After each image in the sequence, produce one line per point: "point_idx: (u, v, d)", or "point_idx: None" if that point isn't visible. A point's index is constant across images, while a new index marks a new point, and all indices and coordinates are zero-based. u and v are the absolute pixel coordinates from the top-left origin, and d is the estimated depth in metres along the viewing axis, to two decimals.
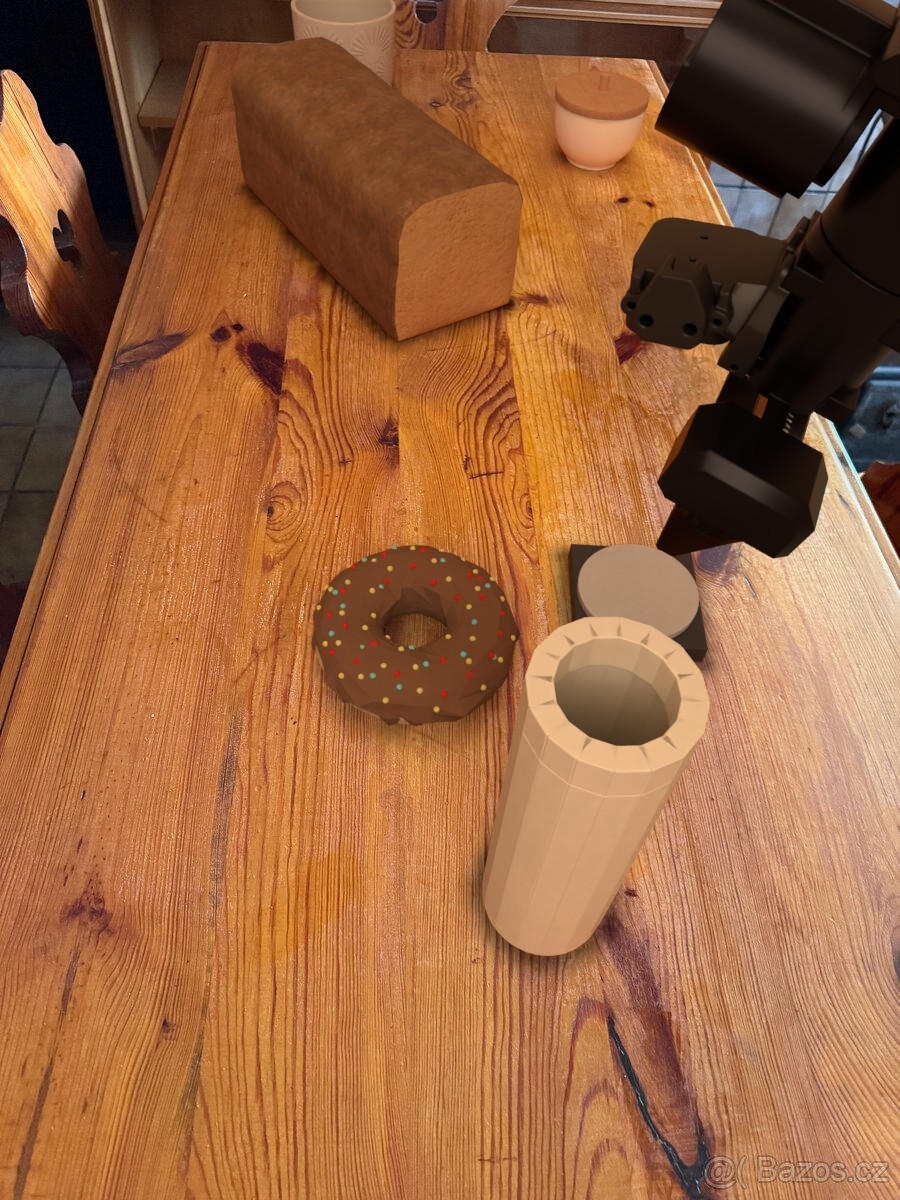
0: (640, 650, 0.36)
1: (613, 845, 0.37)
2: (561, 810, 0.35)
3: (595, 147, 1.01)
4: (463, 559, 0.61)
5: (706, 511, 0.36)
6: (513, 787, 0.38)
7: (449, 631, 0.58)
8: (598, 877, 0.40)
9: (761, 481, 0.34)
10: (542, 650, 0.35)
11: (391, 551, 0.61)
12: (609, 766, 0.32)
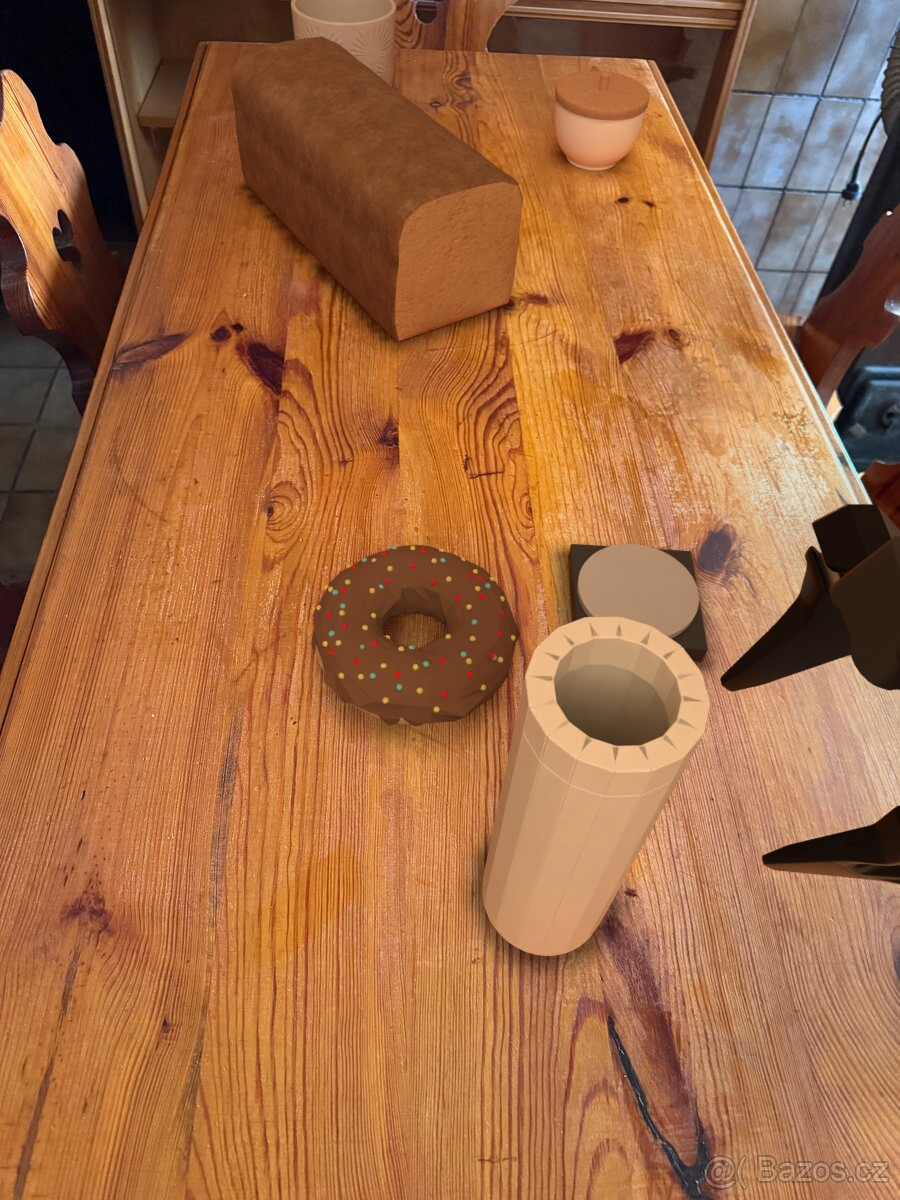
0: (640, 650, 0.36)
1: (613, 845, 0.37)
2: (561, 810, 0.35)
3: (595, 147, 1.01)
4: (463, 559, 0.61)
5: None
6: (513, 787, 0.38)
7: (449, 631, 0.58)
8: (598, 877, 0.40)
9: None
10: (542, 650, 0.35)
11: (391, 551, 0.61)
12: (609, 766, 0.32)
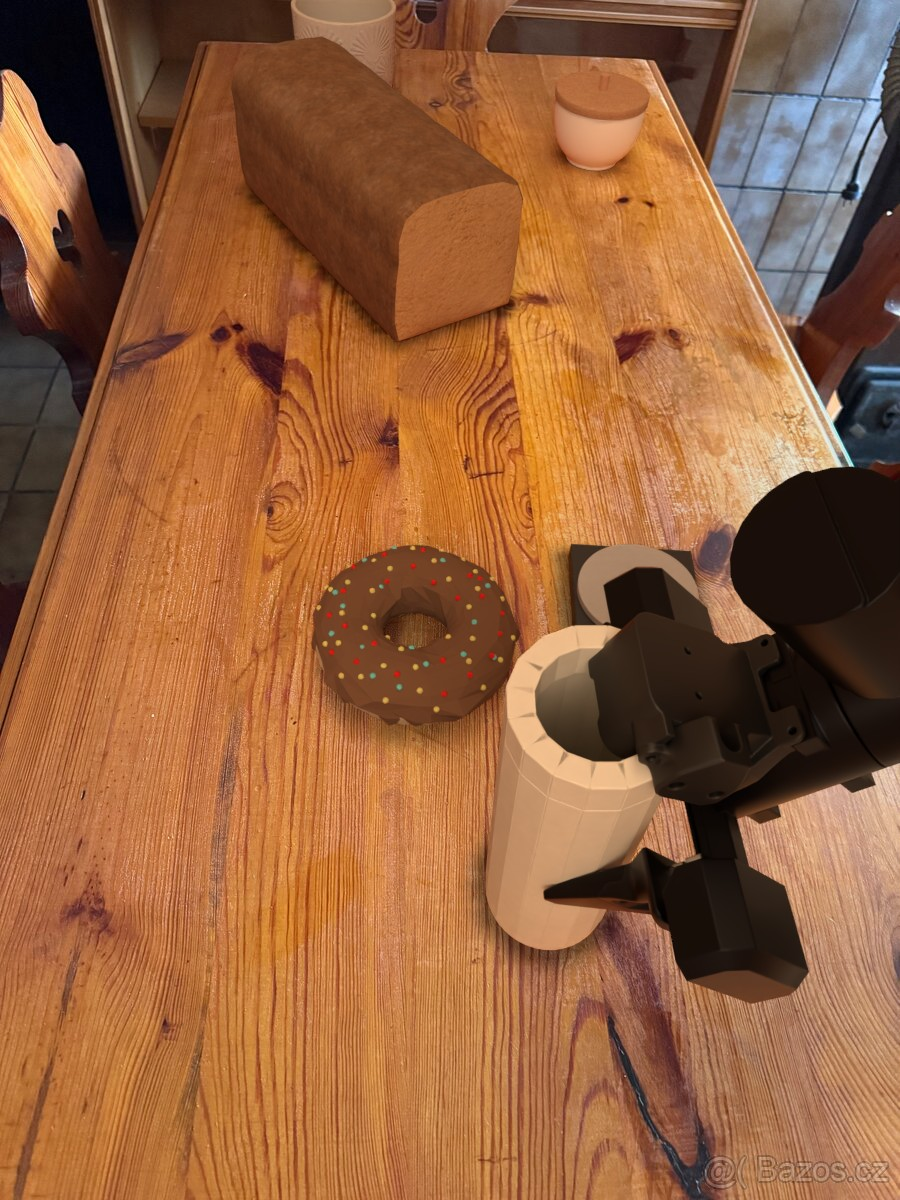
0: None
1: (599, 854, 0.37)
2: (543, 820, 0.35)
3: (595, 147, 1.01)
4: (463, 559, 0.61)
5: (720, 986, 0.33)
6: (501, 793, 0.38)
7: (449, 631, 0.58)
8: None
9: (784, 963, 0.33)
10: (526, 660, 0.34)
11: (391, 551, 0.61)
12: (585, 783, 0.31)
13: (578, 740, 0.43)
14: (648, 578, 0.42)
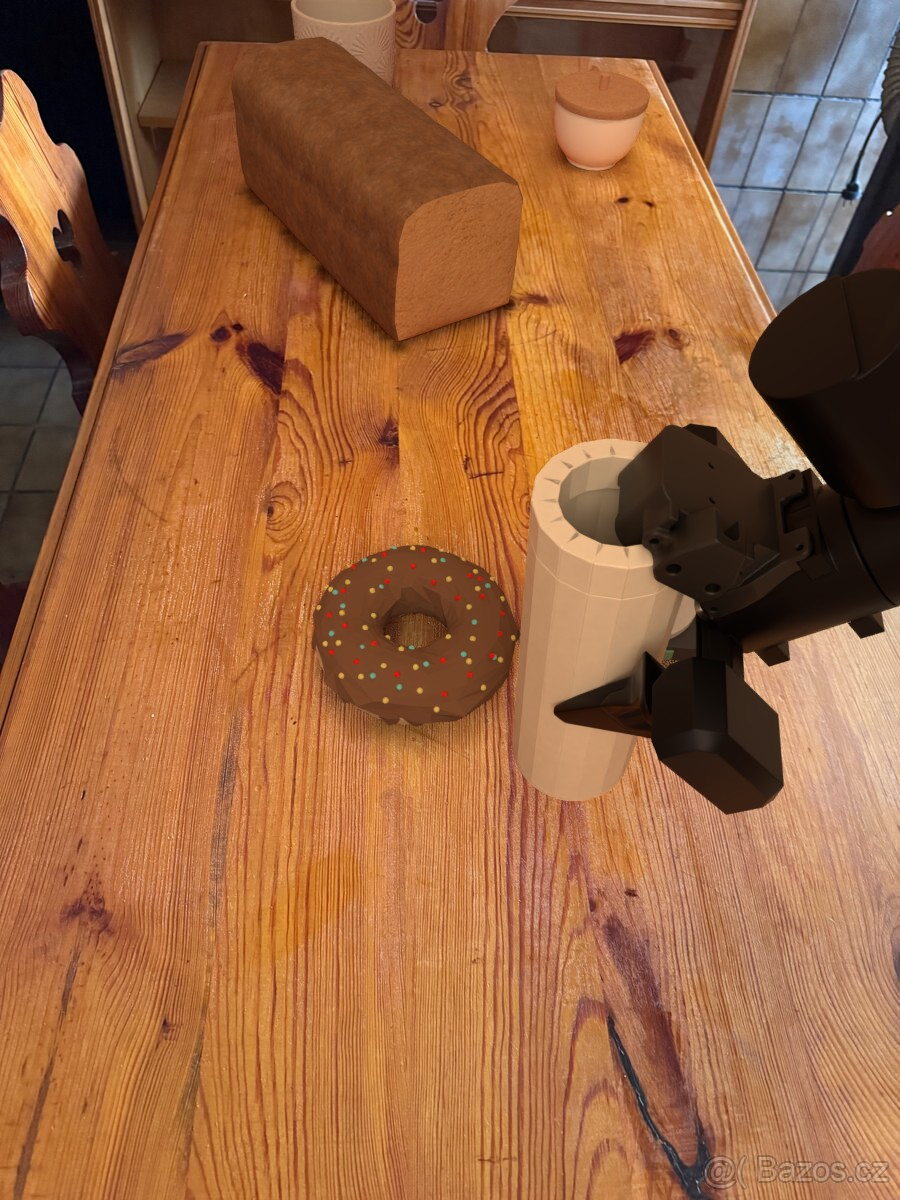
0: None
1: (605, 662, 0.39)
2: (554, 612, 0.38)
3: (595, 147, 1.01)
4: (463, 559, 0.61)
5: (692, 776, 0.35)
6: (524, 598, 0.41)
7: (449, 631, 0.58)
8: None
9: (757, 763, 0.34)
10: (559, 459, 0.37)
11: (391, 551, 0.61)
12: (589, 558, 0.34)
13: None
14: (701, 433, 0.43)
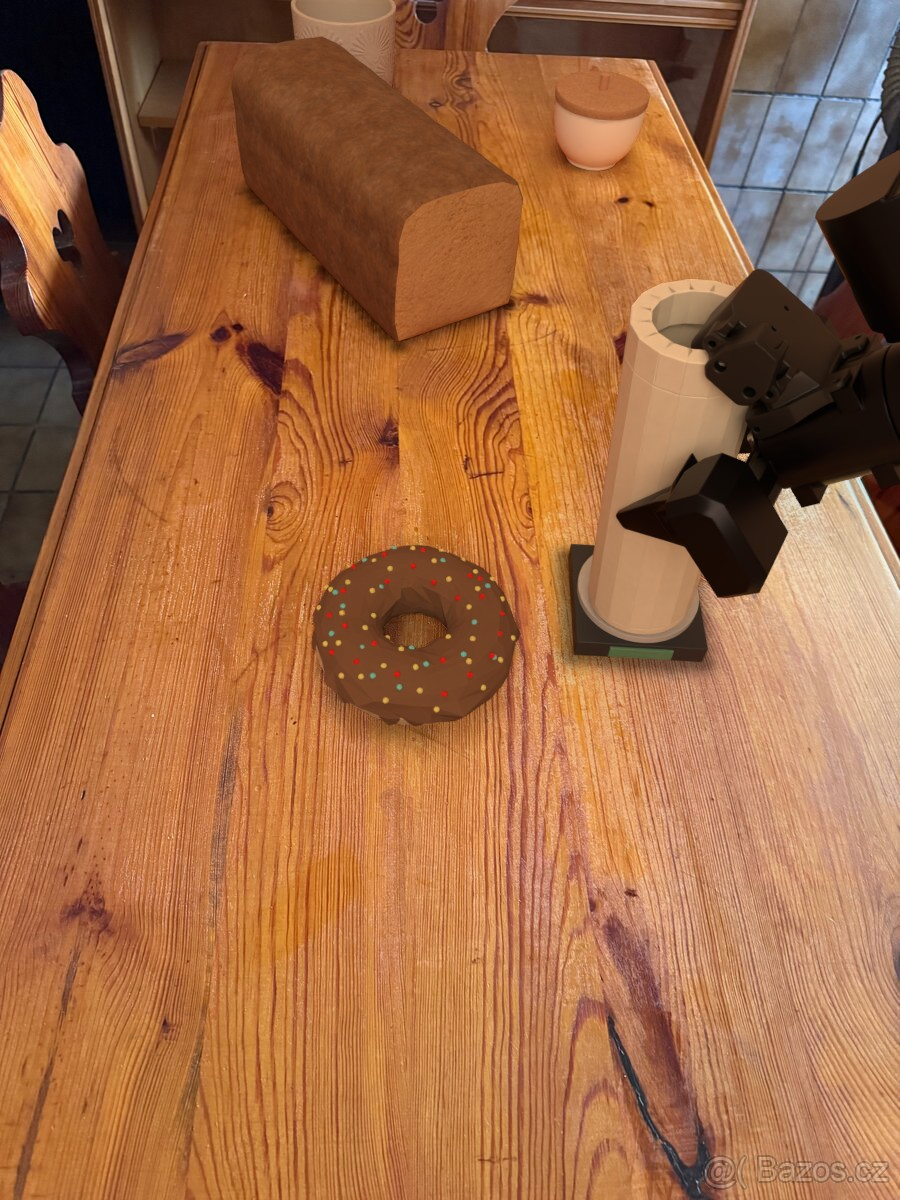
0: None
1: (661, 464, 0.47)
2: (629, 407, 0.46)
3: (595, 147, 1.01)
4: (463, 559, 0.61)
5: (692, 544, 0.42)
6: None
7: (449, 631, 0.58)
8: None
9: (746, 544, 0.41)
10: (667, 285, 0.46)
11: (391, 551, 0.61)
12: (658, 349, 0.42)
13: None
14: None
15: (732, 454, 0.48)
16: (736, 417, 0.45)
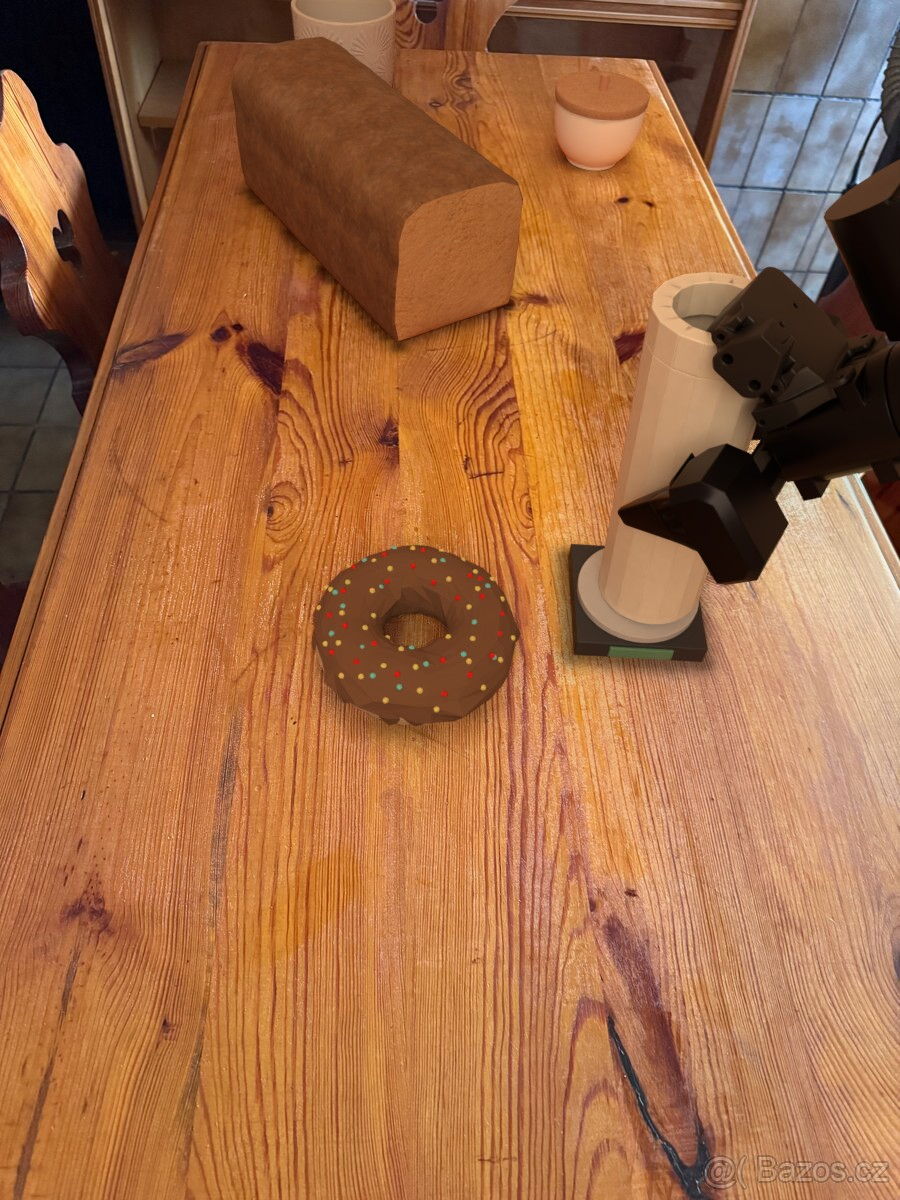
0: None
1: (676, 447, 0.49)
2: (647, 391, 0.48)
3: (595, 147, 1.01)
4: (463, 559, 0.61)
5: (693, 530, 0.44)
6: None
7: (449, 631, 0.58)
8: None
9: (745, 531, 0.43)
10: (687, 277, 0.48)
11: (391, 551, 0.61)
12: (678, 331, 0.45)
13: None
14: None
15: (744, 441, 0.49)
16: (750, 403, 0.47)
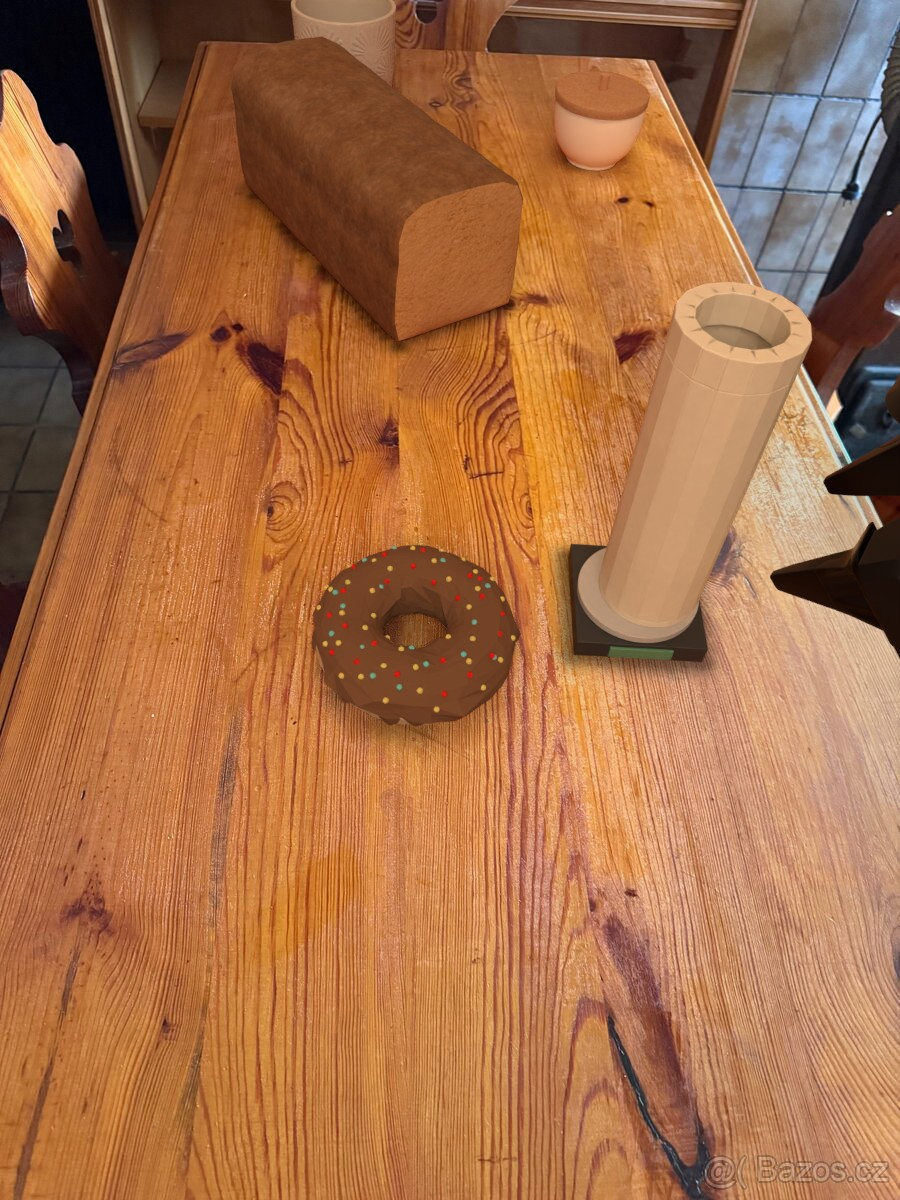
0: (780, 317, 0.47)
1: (690, 458, 0.49)
2: (664, 400, 0.48)
3: (595, 147, 1.01)
4: (463, 559, 0.61)
5: (883, 609, 0.40)
6: (648, 400, 0.51)
7: (449, 631, 0.58)
8: (674, 504, 0.52)
9: None
10: (710, 286, 0.48)
11: (391, 551, 0.61)
12: (701, 344, 0.44)
13: None
14: None
15: (758, 454, 0.49)
16: (767, 417, 0.47)
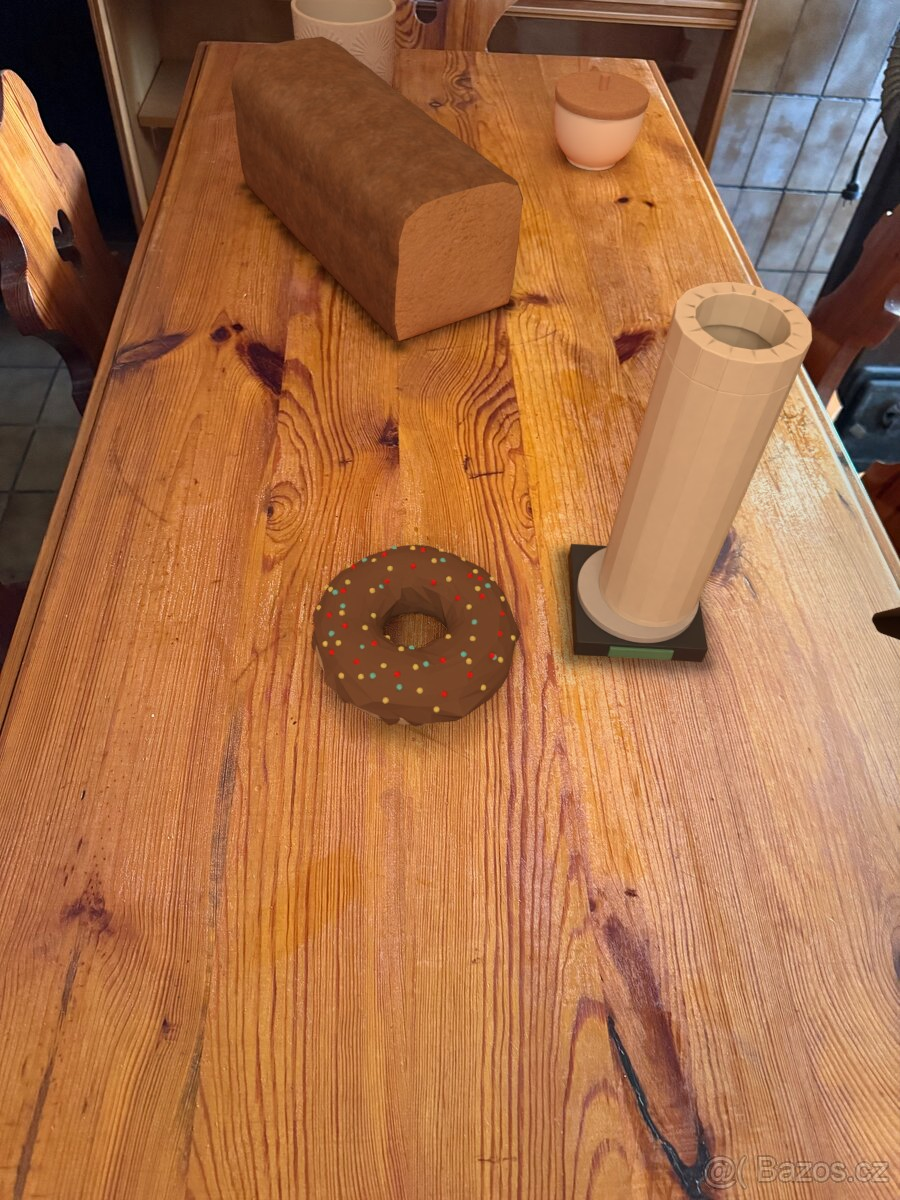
0: (780, 317, 0.47)
1: (690, 458, 0.49)
2: (664, 400, 0.48)
3: (595, 147, 1.01)
4: (463, 559, 0.61)
5: None
6: (648, 400, 0.51)
7: (449, 631, 0.58)
8: (674, 504, 0.52)
9: None
10: (710, 286, 0.48)
11: (391, 551, 0.61)
12: (701, 344, 0.44)
13: None
14: None
15: (758, 454, 0.49)
16: (767, 417, 0.47)
